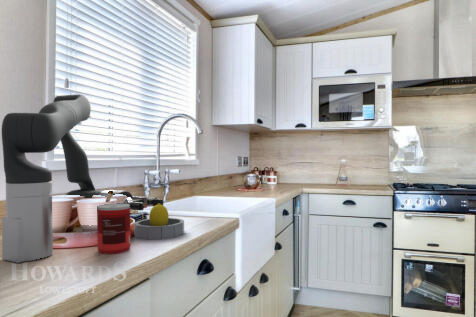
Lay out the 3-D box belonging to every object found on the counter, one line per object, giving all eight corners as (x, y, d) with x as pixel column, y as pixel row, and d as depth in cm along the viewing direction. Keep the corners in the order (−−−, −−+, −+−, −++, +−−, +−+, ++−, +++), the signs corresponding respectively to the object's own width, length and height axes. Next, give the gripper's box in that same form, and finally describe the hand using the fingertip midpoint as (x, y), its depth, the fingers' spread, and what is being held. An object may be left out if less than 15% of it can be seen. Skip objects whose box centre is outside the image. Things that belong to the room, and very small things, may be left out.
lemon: (164, 232, 101) (163, 204, 101) (146, 232, 103) (145, 204, 102) (171, 228, 107) (171, 202, 107) (154, 228, 108) (154, 202, 108)
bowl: (162, 241, 95) (162, 228, 95) (124, 236, 102) (124, 224, 102) (193, 231, 107) (192, 219, 107) (157, 227, 114) (157, 216, 114)
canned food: (117, 244, 92) (117, 202, 92) (137, 248, 88) (136, 204, 88) (90, 251, 86) (90, 206, 86) (110, 256, 82) (109, 208, 82)
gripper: (96, 192, 107) (135, 194, 100) (131, 188, 120) (168, 190, 112) (96, 217, 107) (135, 221, 100) (131, 210, 120) (168, 213, 112)
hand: (153, 204), depth 106 cm, fingers open, 8 cm apart
